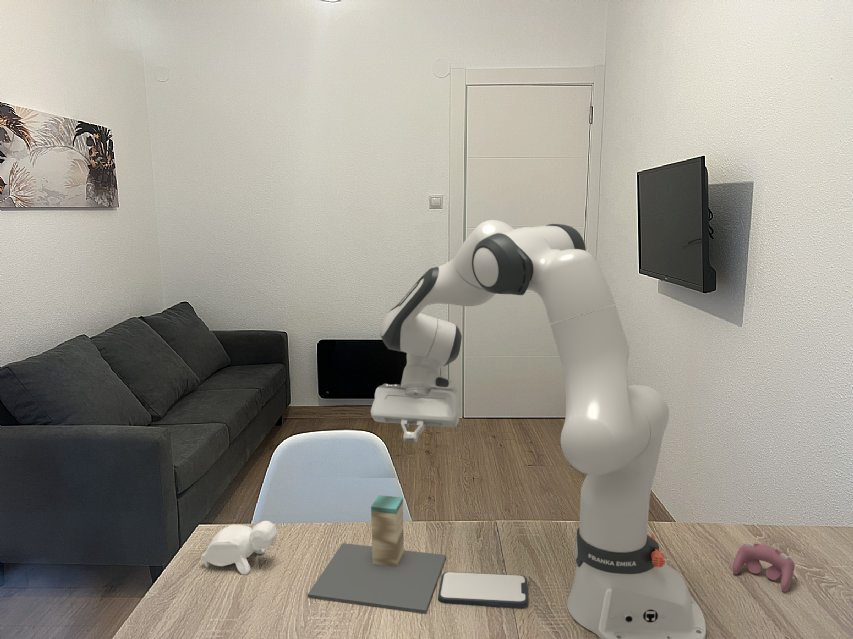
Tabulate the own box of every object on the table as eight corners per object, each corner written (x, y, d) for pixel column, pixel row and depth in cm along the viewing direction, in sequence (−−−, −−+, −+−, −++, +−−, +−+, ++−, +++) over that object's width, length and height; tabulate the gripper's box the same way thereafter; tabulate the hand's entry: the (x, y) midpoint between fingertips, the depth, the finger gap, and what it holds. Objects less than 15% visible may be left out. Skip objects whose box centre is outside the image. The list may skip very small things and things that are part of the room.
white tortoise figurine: (209, 586, 123) (275, 565, 120) (191, 548, 123) (257, 526, 119) (229, 562, 132) (291, 542, 129) (212, 526, 131) (275, 505, 128)
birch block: (403, 552, 128) (402, 497, 126) (397, 566, 123) (396, 509, 121) (380, 550, 129) (378, 495, 127) (372, 563, 124) (371, 506, 122)
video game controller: (791, 593, 117) (799, 555, 118) (787, 593, 113) (794, 554, 115) (735, 573, 123) (742, 537, 124) (729, 572, 120) (736, 536, 121)
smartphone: (437, 606, 113) (528, 611, 111) (437, 598, 112) (528, 603, 110) (442, 578, 121) (526, 582, 119) (442, 570, 121) (527, 574, 119)
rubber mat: (446, 557, 127) (446, 555, 127) (425, 613, 110) (425, 610, 110) (342, 545, 132) (342, 543, 132) (307, 597, 115) (307, 594, 114)
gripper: (374, 377, 148) (361, 431, 140) (460, 381, 143) (452, 438, 136) (380, 389, 153) (368, 443, 145) (463, 395, 148) (456, 450, 141)
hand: (409, 440), depth 140 cm, fingers closed
